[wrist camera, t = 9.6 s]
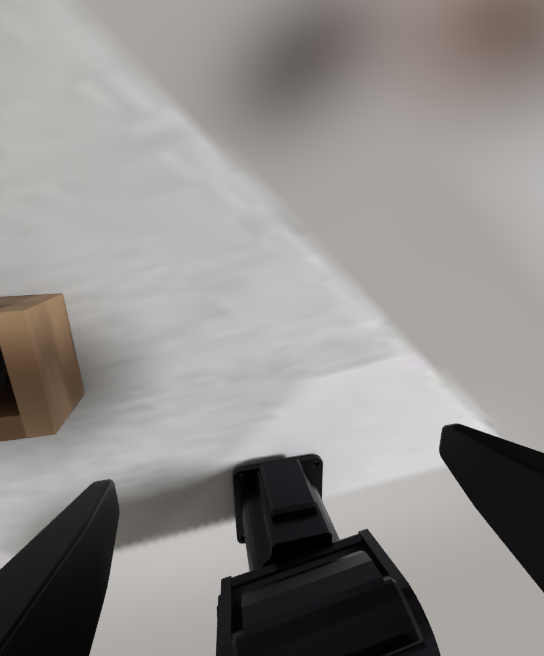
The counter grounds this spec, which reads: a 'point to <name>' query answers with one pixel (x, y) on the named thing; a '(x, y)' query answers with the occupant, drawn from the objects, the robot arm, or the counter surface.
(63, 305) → the block with square hole
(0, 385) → the peg
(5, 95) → the counter surface
